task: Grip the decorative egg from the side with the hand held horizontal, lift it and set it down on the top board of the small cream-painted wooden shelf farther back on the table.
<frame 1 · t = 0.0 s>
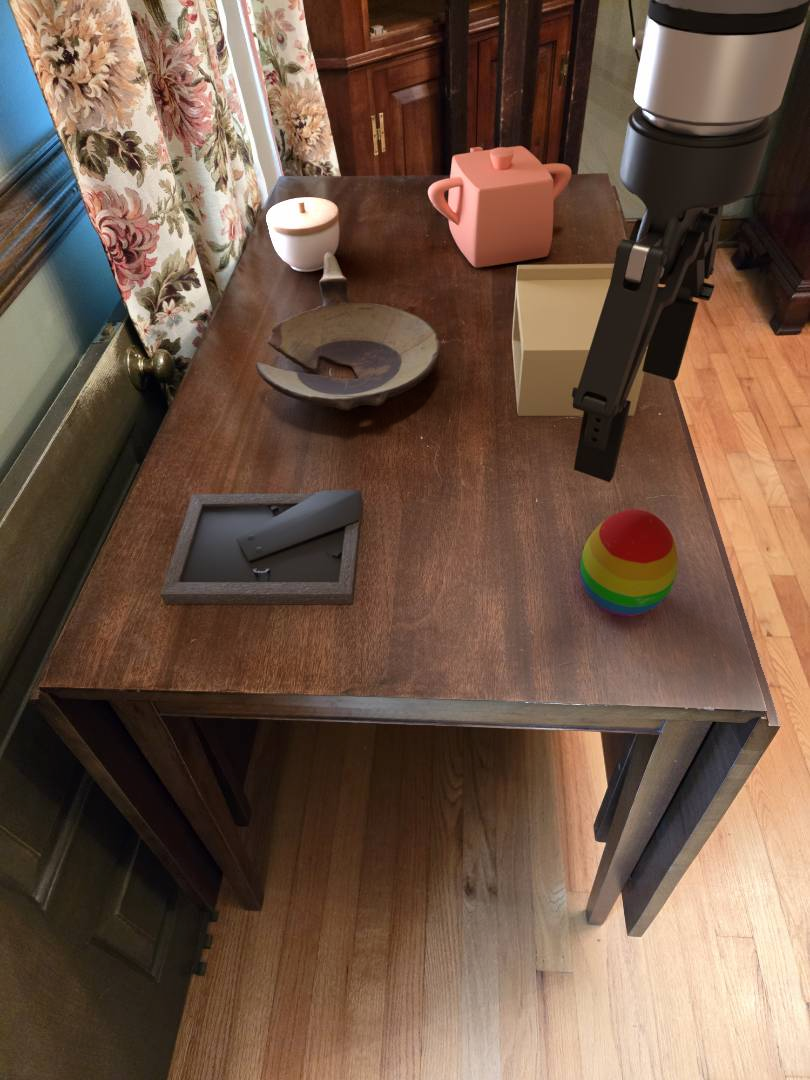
hand: (628, 420, 55), 19 cm above the table, tool pointing down, fingers open, 13 cm apart
decorative egg: (619, 593, 68), on the table
shelf: (569, 375, 90), on the table
white lidded sugar bowl: (309, 263, 113), on the table
grey frying pan: (357, 366, 94), on the table
picture frame: (269, 552, 73), on the table
pink ceramic boxy vessel: (492, 239, 116), on the table
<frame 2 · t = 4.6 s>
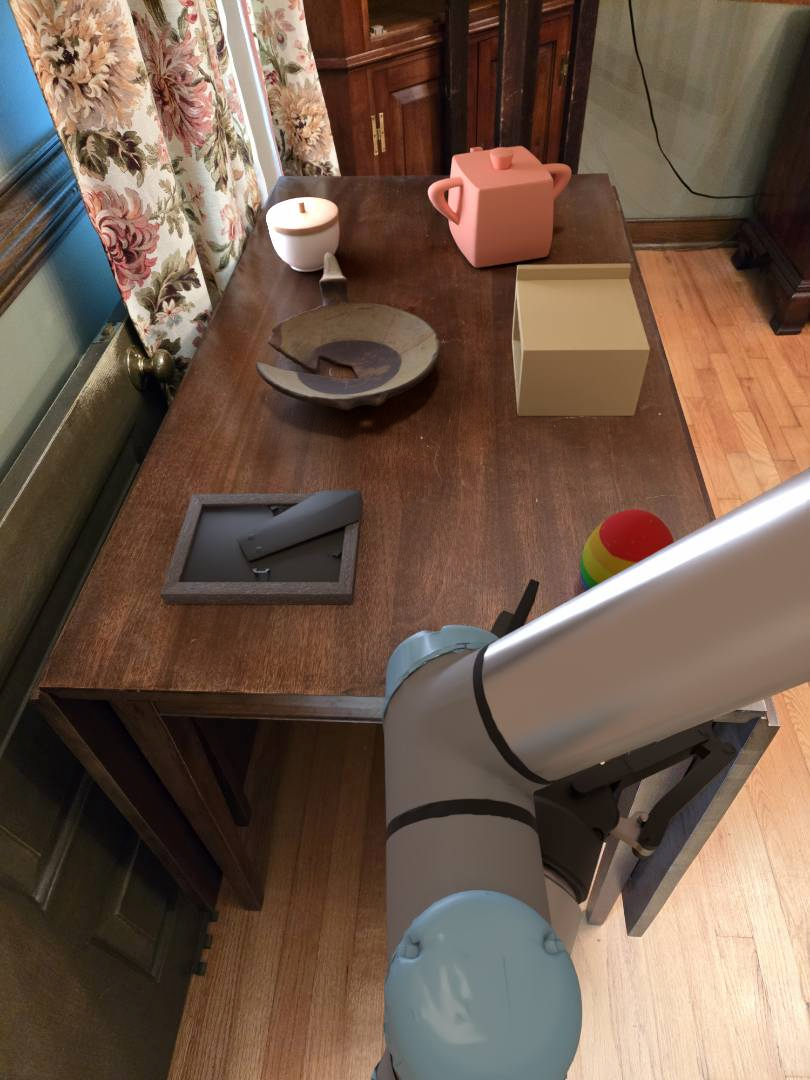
hand: (615, 621, 57), 7 cm above the table, tool horizontal, fingers open, 13 cm apart
nothing on the table moved.
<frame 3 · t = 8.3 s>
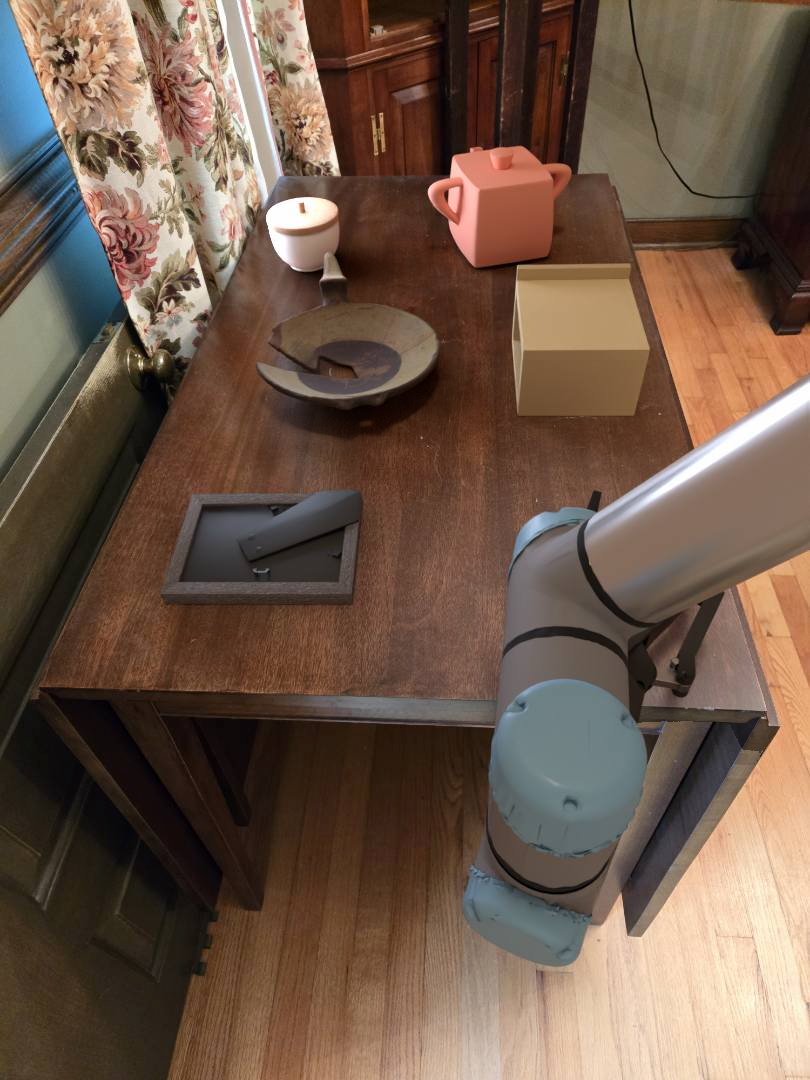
hand: (643, 513, 66), 6 cm above the table, tool horizontal, fingers closed on decorative egg, 8 cm apart
decorative egg: (619, 593, 68), on the table, touching gripper
everything else where it was.
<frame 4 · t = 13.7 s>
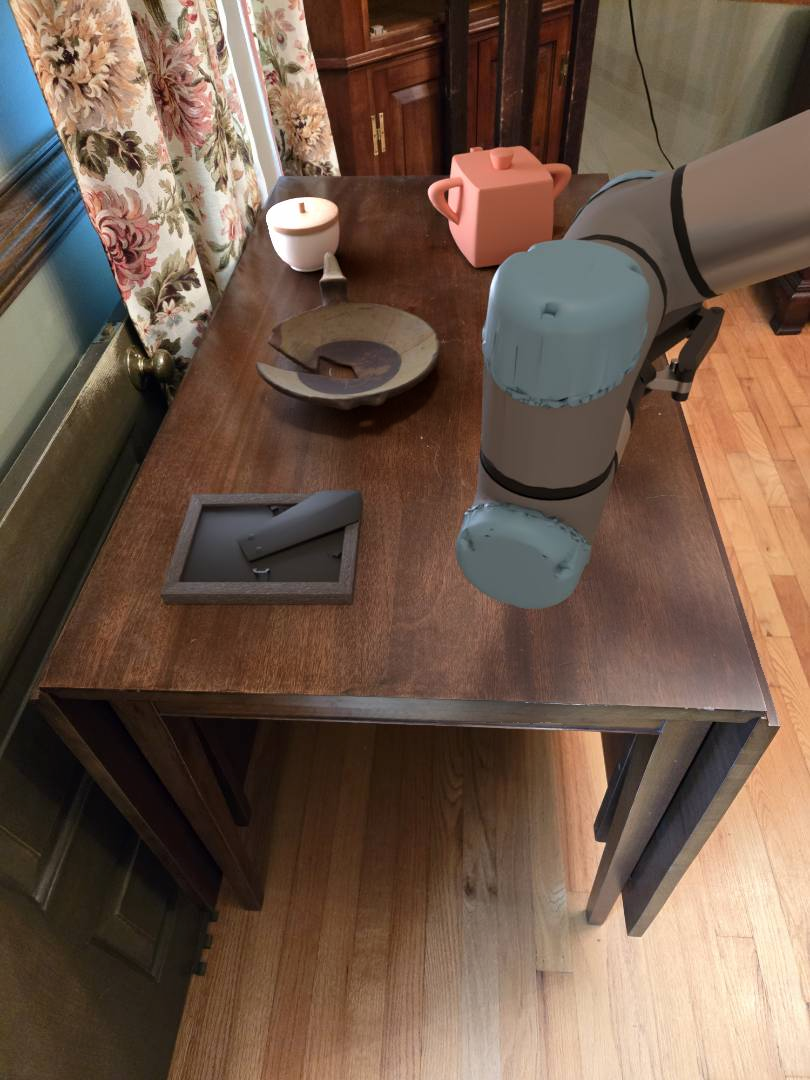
hand: (641, 264, 64), 22 cm above the table, tool horizontal, fingers closed on decorative egg, 8 cm apart
decorative egg: (617, 353, 66), point 16 cm above the table, touching gripper
everything else where it was.
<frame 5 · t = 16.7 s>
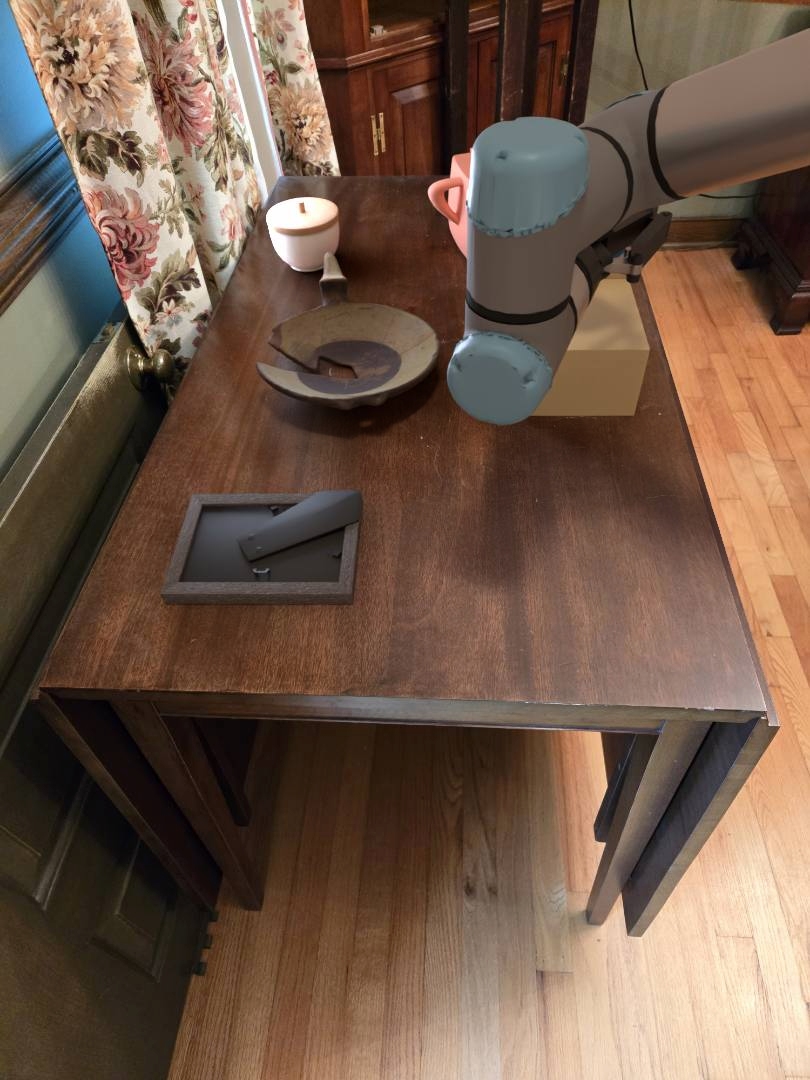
hand: (607, 184, 76), 22 cm above the table, tool horizontal, fingers closed on decorative egg, 8 cm apart
decorative egg: (587, 262, 78), point 16 cm above the table, touching gripper
everything else where it was.
when the fingers open (15 cm above the table, at t = 19.2 s): decorative egg stays where it is, resting on shelf.
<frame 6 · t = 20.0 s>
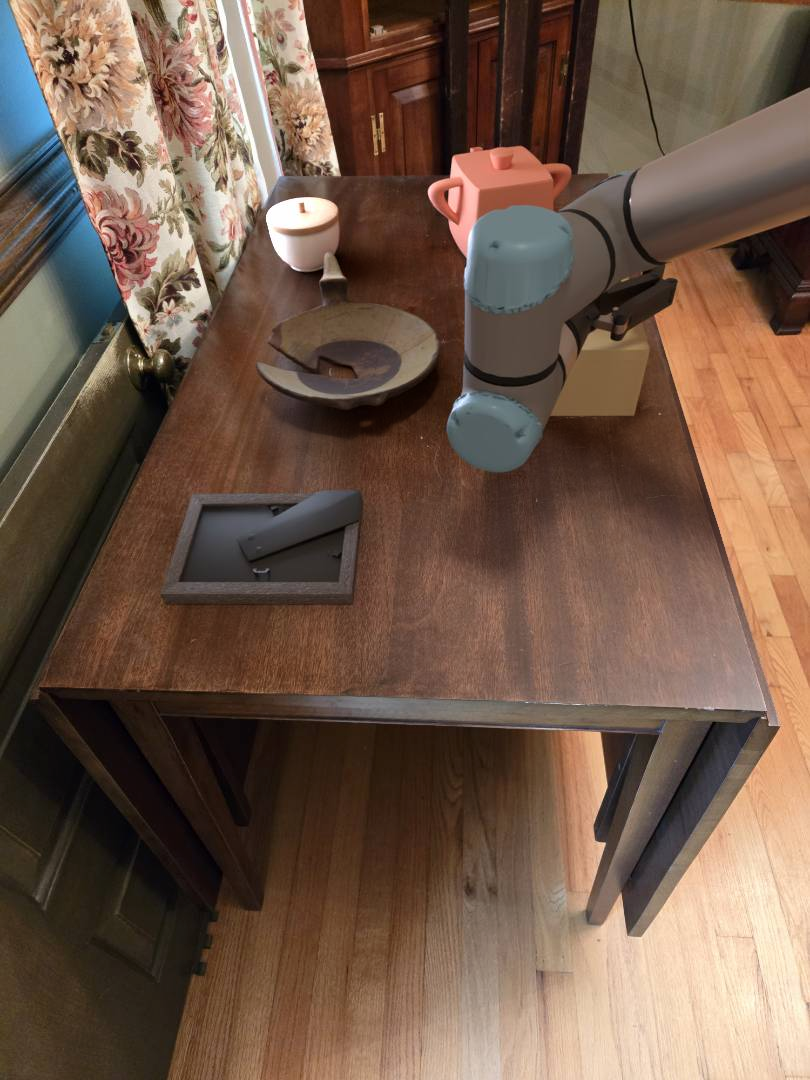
hand: (594, 243, 81), 15 cm above the table, tool horizontal, fingers open, 13 cm apart
decorative egg: (578, 311, 84), point 9 cm above the table, touching shelf
everything else where it was.
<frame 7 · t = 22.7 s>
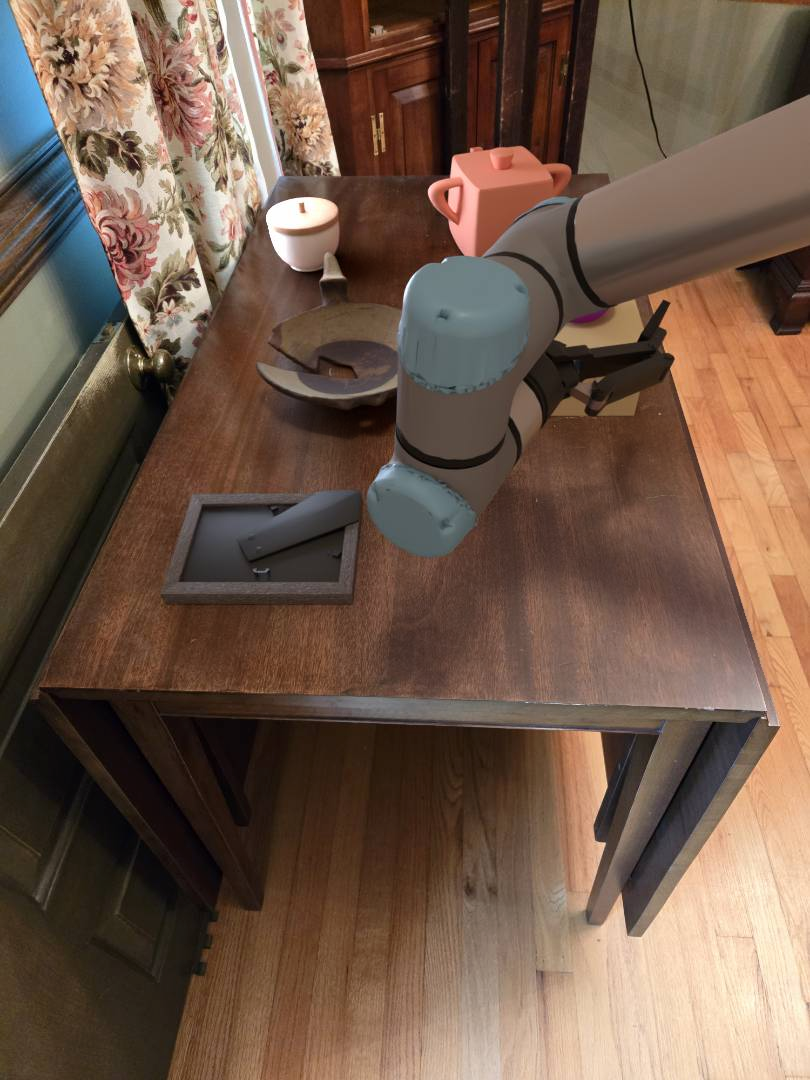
hand: (596, 284, 70), 18 cm above the table, tool horizontal, fingers open, 13 cm apart
nothing on the table moved.
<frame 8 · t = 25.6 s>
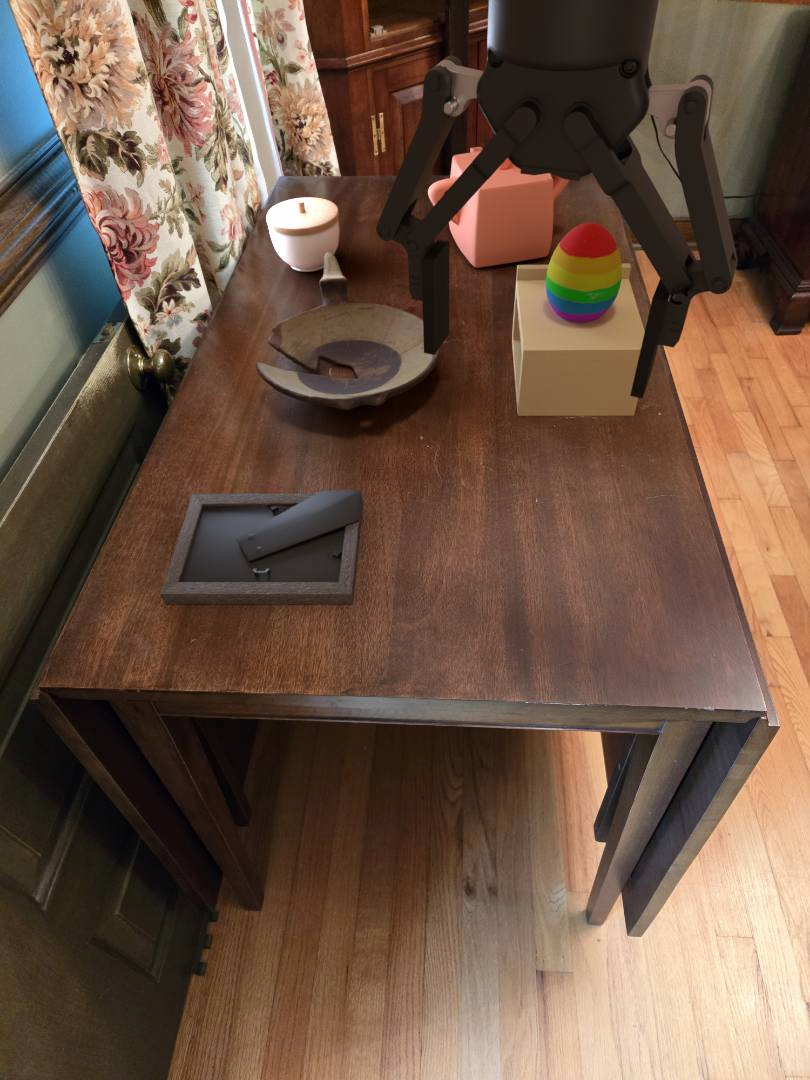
hand: (534, 363, 47), 27 cm above the table, tool pointing down, fingers open, 13 cm apart
nothing on the table moved.
at the end: decorative egg inside the target area on the shelf (0.0 cm from its centre), point 8.8 cm above the shelf's base; decorative egg tilted 0°; the gripper is holding nothing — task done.
